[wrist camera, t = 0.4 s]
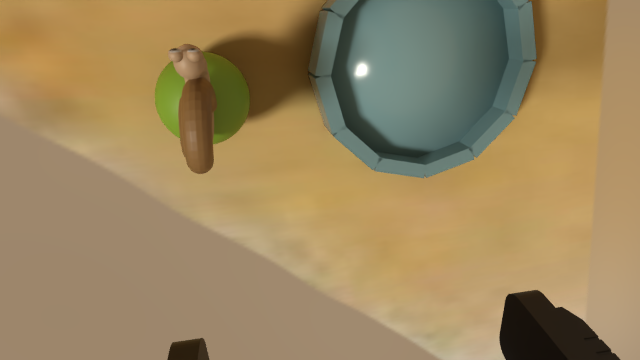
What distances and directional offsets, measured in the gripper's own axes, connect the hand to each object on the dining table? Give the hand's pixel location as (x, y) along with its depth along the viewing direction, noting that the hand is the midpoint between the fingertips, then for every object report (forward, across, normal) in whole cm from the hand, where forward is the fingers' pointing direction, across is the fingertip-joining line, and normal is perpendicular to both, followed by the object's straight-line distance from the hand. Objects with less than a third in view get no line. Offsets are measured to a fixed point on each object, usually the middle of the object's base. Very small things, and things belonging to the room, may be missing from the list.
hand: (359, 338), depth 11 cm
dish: (+21, -9, -2) cm, 23 cm away
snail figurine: (+21, +6, -3) cm, 22 cm away
